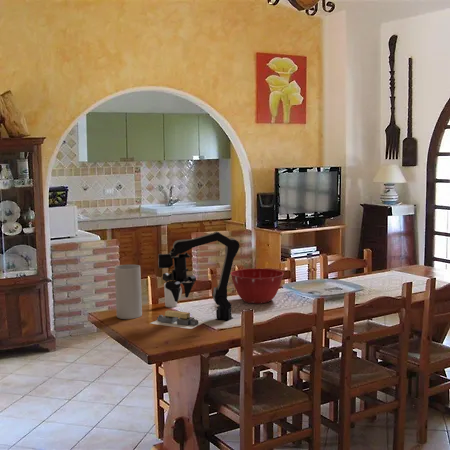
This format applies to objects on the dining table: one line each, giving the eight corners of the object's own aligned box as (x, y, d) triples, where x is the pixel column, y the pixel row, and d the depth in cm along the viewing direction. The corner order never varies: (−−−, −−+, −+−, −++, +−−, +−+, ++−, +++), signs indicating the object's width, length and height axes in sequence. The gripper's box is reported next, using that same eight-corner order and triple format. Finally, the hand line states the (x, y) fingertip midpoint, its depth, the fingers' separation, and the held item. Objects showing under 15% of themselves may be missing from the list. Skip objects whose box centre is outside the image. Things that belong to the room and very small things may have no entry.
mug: (168, 308, 329) (167, 285, 328) (162, 305, 335) (161, 283, 333) (185, 305, 335) (184, 282, 333) (179, 302, 340) (178, 280, 339)
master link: (190, 323, 298) (189, 312, 297) (186, 324, 295) (186, 314, 295) (168, 320, 303) (168, 310, 303) (165, 321, 301) (164, 311, 300)
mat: (205, 322, 300) (205, 321, 299) (191, 329, 288) (191, 328, 288) (165, 317, 310) (165, 316, 310) (149, 324, 299) (149, 323, 299)
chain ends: (200, 323, 297) (199, 318, 297) (193, 326, 292) (193, 321, 291) (162, 318, 307) (162, 313, 307) (155, 321, 302) (155, 316, 301)
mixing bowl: (258, 292, 361) (258, 265, 359) (295, 300, 339) (294, 272, 337) (220, 300, 343) (219, 272, 341) (256, 310, 321) (255, 280, 319)
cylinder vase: (129, 321, 305) (127, 270, 302) (111, 317, 313) (109, 267, 310) (147, 315, 315) (145, 266, 312) (129, 312, 323) (127, 263, 320)
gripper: (176, 262, 310) (177, 294, 312) (154, 269, 294) (156, 302, 295) (196, 264, 305) (197, 295, 307) (175, 271, 288) (176, 304, 290)
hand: (181, 299), depth 300 cm, fingers open, 9 cm apart
